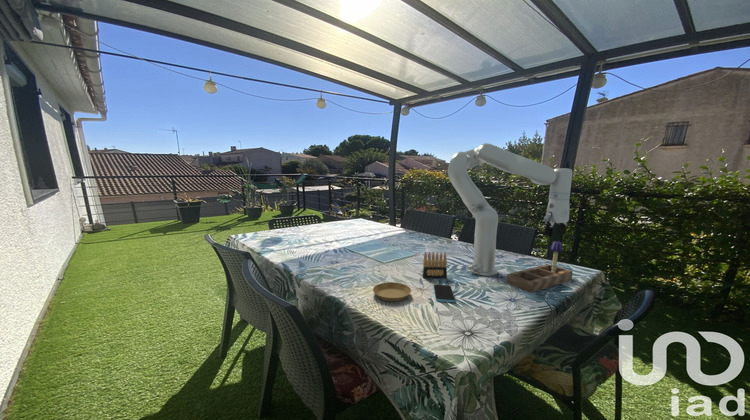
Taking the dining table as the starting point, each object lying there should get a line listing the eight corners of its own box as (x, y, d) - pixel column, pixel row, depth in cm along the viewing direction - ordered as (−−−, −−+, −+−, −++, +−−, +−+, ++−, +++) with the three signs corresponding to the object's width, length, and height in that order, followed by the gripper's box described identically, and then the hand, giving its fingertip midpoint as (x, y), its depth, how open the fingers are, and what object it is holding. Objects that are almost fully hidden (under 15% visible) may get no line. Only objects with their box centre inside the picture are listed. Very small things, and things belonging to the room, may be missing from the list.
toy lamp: (552, 275, 127) (555, 240, 125) (562, 278, 122) (565, 242, 120) (545, 276, 125) (548, 241, 123) (554, 279, 121) (558, 243, 119)
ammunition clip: (423, 278, 123) (423, 252, 121) (422, 276, 125) (423, 251, 123) (446, 278, 122) (447, 252, 121) (445, 276, 124) (446, 251, 123)
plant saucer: (367, 291, 109) (367, 285, 108) (399, 285, 114) (399, 279, 114) (382, 307, 95) (382, 300, 95) (418, 300, 101) (418, 293, 101)
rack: (531, 292, 107) (532, 281, 107) (506, 282, 117) (507, 273, 116) (571, 279, 121) (572, 270, 120) (546, 272, 130) (547, 263, 130)
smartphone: (450, 285, 113) (456, 300, 99) (450, 287, 113) (455, 303, 99) (433, 284, 114) (435, 299, 100) (433, 286, 114) (435, 302, 100)
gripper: (556, 197, 111) (552, 238, 114) (579, 197, 119) (574, 235, 122) (538, 196, 118) (534, 234, 120) (561, 195, 126) (557, 231, 128)
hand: (554, 234), depth 121 cm, fingers open, 9 cm apart
